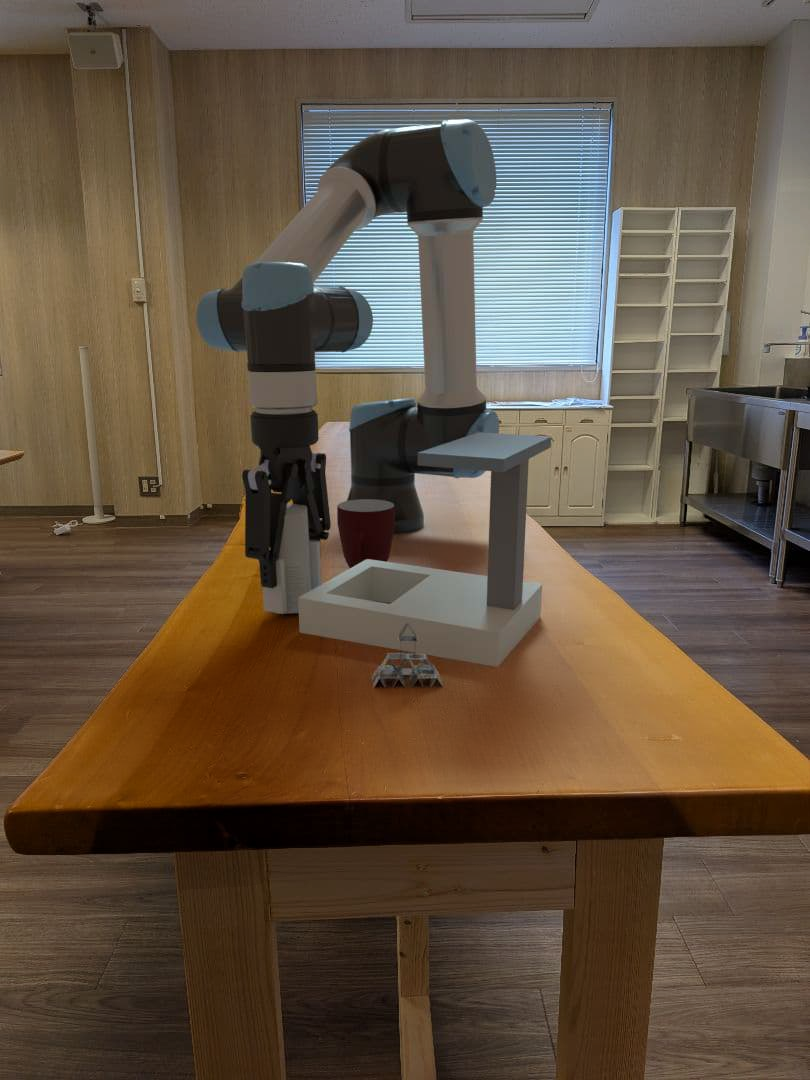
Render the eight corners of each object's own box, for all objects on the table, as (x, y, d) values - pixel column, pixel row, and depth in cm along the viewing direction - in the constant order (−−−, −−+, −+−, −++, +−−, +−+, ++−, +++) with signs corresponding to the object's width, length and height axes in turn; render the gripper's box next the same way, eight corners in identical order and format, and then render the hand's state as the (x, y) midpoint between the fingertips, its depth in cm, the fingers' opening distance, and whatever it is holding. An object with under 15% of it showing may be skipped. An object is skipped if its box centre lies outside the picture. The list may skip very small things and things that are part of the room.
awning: (474, 572, 88) (478, 432, 84) (543, 582, 85) (551, 436, 80) (416, 620, 73) (417, 452, 69) (497, 634, 70) (503, 458, 65)
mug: (391, 589, 97) (390, 516, 95) (331, 587, 98) (329, 515, 95) (397, 565, 108) (397, 499, 105) (343, 564, 108) (341, 498, 105)
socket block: (367, 595, 95) (367, 559, 94) (540, 624, 86) (542, 584, 84) (299, 639, 81) (298, 597, 80) (497, 679, 72) (498, 632, 70)
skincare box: (278, 596, 91) (272, 503, 88) (312, 595, 92) (308, 502, 88) (273, 615, 85) (267, 516, 82) (310, 613, 86) (305, 515, 82)
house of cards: (456, 668, 75) (458, 598, 73) (466, 709, 67) (468, 631, 65) (369, 669, 75) (368, 598, 73) (367, 710, 66) (366, 632, 64)
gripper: (304, 400, 92) (312, 571, 99) (197, 417, 75) (215, 624, 81) (356, 402, 89) (360, 579, 95) (257, 421, 72) (271, 636, 78)
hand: (294, 599), depth 88 cm, fingers closed on skincare box, 7 cm apart
